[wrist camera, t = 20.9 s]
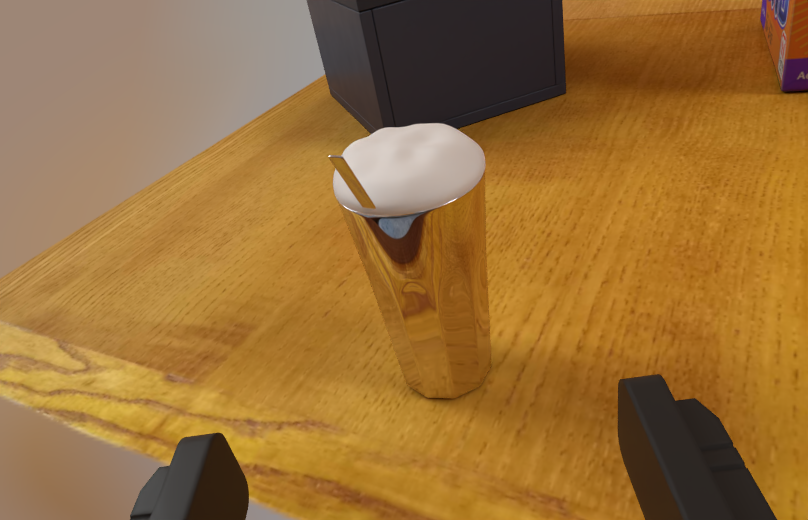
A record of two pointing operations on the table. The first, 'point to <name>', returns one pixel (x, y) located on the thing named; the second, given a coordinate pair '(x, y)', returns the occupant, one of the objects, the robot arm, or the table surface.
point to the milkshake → (423, 248)
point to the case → (440, 58)
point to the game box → (787, 40)
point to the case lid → (364, 3)
